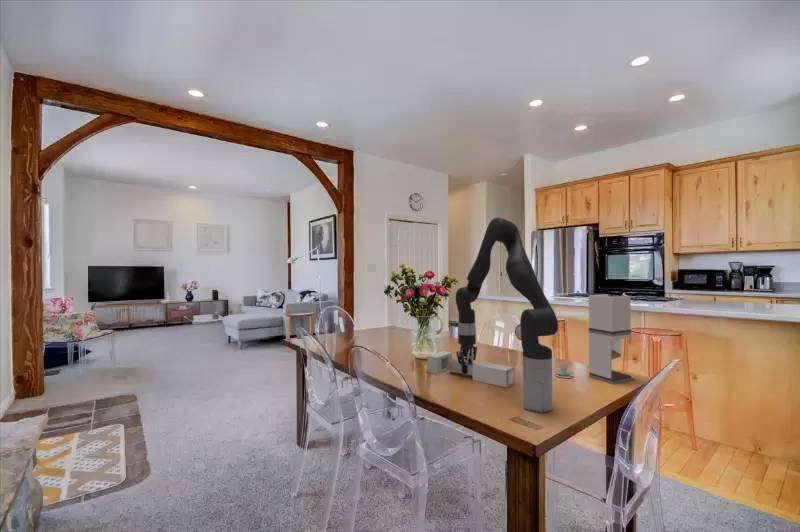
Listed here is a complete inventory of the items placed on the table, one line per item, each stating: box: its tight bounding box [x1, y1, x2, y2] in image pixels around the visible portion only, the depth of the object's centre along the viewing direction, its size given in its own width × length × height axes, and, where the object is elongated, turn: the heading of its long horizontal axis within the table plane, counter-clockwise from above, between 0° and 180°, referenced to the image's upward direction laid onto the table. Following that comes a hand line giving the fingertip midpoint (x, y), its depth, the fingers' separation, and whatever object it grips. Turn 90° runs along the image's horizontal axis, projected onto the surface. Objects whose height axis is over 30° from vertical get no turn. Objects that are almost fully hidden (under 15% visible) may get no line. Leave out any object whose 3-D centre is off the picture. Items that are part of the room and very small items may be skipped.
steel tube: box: [447, 358, 475, 376], centre depth 156 cm, size 4×26×4 cm, turn 49°
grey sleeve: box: [472, 360, 515, 389], centre depth 150 cm, size 6×16×7 cm, turn 49°
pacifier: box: [554, 361, 574, 379], centre depth 157 cm, size 7×6×6 cm
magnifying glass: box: [514, 323, 521, 341], centre depth 175 cm, size 9×2×20 cm, turn 57°
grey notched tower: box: [588, 293, 632, 385], centre depth 153 cm, size 11×11×35 cm
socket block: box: [426, 350, 453, 375], centre depth 168 cm, size 12×6×7 cm, turn 139°
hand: (467, 372), depth 158 cm, fingers closed on steel tube, 4 cm apart
